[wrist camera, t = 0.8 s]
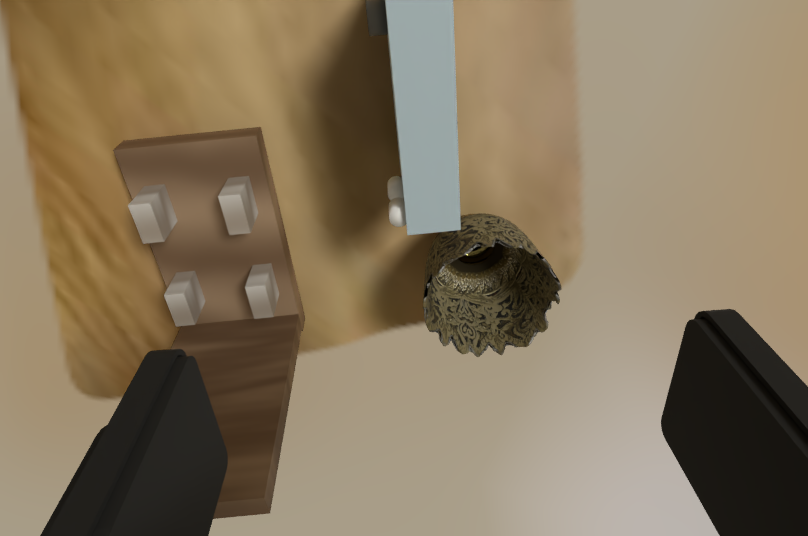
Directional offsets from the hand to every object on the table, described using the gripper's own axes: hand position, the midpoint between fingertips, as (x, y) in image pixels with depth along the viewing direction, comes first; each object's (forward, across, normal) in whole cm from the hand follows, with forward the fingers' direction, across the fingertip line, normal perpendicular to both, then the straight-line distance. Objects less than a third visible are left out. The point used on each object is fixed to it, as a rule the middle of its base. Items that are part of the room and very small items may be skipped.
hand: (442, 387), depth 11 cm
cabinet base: (+24, +12, +8) cm, 28 cm away
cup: (+24, -4, +10) cm, 26 cm away
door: (+24, -1, -1) cm, 24 cm away
